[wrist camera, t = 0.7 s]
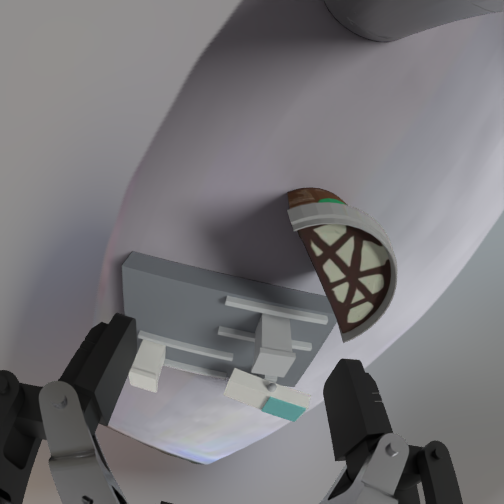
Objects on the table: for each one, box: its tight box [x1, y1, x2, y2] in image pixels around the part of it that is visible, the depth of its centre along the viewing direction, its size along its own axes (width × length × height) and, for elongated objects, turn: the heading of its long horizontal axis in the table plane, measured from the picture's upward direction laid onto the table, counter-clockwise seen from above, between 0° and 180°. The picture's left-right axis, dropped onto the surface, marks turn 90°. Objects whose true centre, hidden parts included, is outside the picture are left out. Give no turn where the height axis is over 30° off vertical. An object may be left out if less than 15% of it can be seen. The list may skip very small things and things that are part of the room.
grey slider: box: [251, 313, 296, 377], centre depth 27 cm, size 3×3×6 cm
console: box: [122, 252, 337, 387], centre depth 31 cm, size 15×24×6 cm, turn 76°
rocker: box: [224, 368, 311, 421], centre depth 30 cm, size 5×10×2 cm, turn 76°
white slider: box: [129, 339, 166, 392], centre depth 30 cm, size 3×3×6 cm
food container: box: [287, 188, 397, 343], centre depth 22 cm, size 12×6×10 cm, turn 27°
